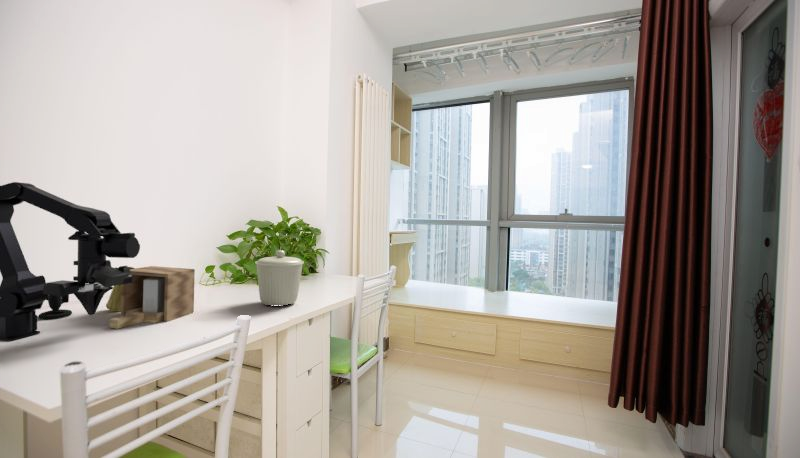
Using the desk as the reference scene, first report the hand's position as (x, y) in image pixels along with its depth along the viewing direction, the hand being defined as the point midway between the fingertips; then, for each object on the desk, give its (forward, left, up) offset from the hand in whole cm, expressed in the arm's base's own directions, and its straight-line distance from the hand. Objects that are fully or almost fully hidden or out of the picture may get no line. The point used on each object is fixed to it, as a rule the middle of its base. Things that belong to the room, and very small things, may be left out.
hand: (91, 314), depth 93 cm
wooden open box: (+21, 0, -6) cm, 22 cm away
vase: (+22, +17, -5) cm, 28 cm away
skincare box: (+19, 0, -6) cm, 20 cm away
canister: (+47, -29, -6) cm, 55 cm away
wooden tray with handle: (+16, 0, -6) cm, 17 cm away
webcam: (+11, +27, -6) cm, 30 cm away
